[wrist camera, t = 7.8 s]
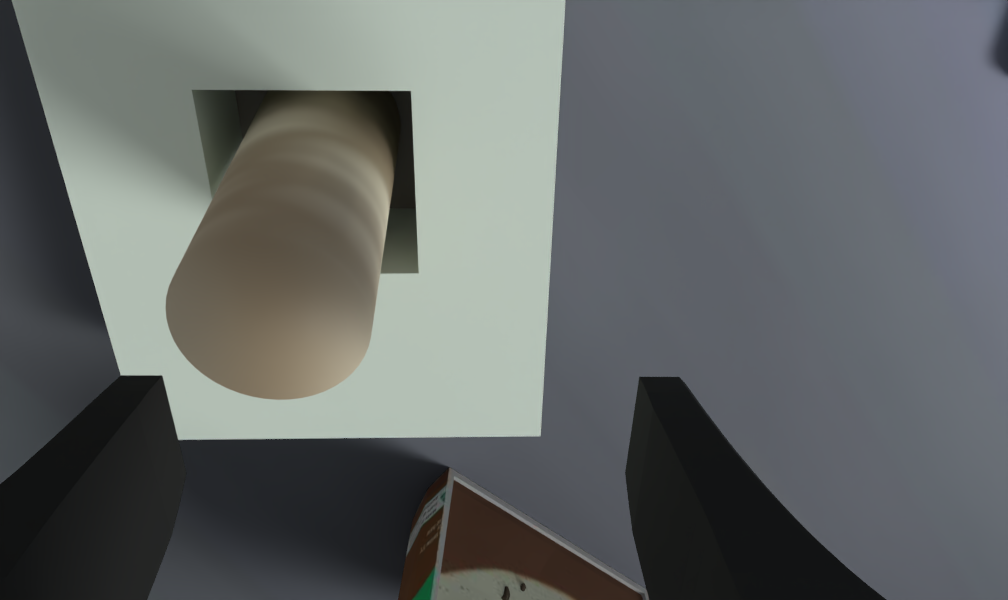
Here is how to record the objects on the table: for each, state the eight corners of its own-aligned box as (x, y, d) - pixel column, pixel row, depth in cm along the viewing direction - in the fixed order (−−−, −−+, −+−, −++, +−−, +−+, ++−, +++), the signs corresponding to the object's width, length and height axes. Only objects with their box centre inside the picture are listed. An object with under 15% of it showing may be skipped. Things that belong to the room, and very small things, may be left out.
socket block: (558, -213, 17) (576, -196, 14) (531, 351, 25) (540, 436, 22) (39, -223, 17) (-49, -207, 14) (177, 353, 25) (139, 440, 22)
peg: (401, 60, 20) (370, 238, 13) (400, 188, 22) (373, 402, 15) (256, 52, 20) (151, 229, 13) (267, 182, 21) (180, 396, 15)
